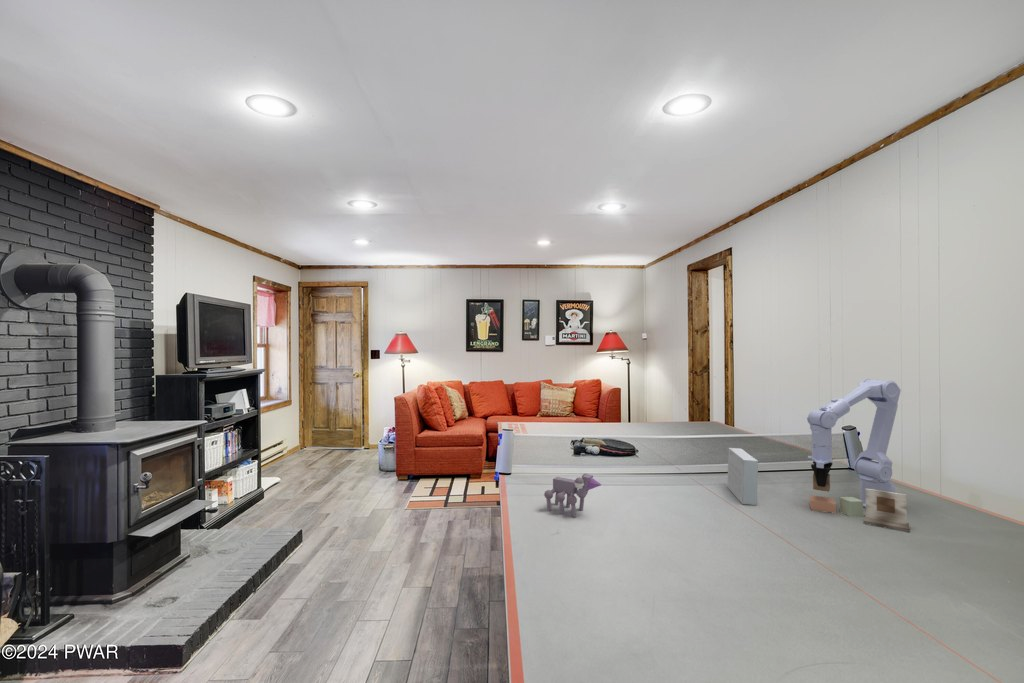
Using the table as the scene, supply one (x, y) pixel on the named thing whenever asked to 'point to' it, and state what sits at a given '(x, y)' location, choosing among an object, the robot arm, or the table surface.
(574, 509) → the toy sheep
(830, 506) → the base block
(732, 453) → the skincare box
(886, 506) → the card
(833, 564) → the table surface
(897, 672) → the table surface
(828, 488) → the walnut block
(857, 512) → the sage block
